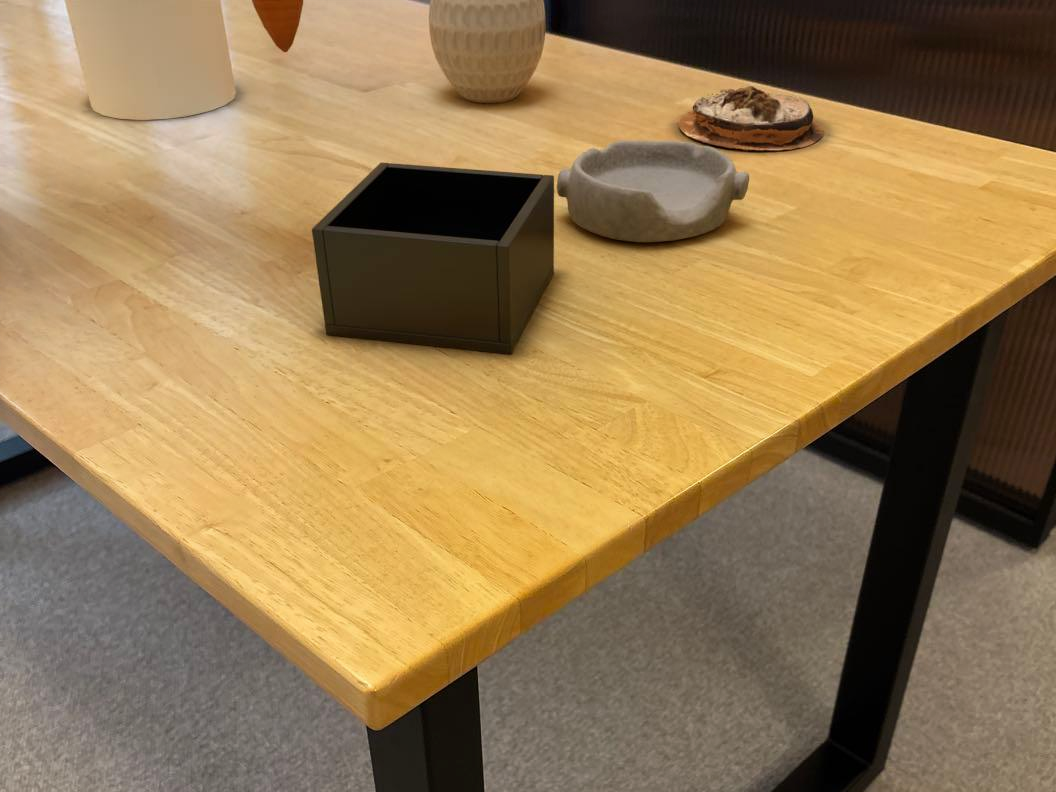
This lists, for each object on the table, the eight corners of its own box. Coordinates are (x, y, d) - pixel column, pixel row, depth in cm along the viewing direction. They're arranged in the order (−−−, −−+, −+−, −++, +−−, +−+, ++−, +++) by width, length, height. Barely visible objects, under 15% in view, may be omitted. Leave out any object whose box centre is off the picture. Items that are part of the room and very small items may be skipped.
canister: (206, 72, 132) (171, -118, 120) (258, 103, 122) (225, -102, 109) (73, 94, 125) (21, -106, 113) (115, 129, 115) (63, -88, 102)
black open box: (325, 334, 77) (311, 228, 72) (389, 259, 87) (380, 162, 83) (511, 354, 74) (508, 246, 70) (554, 274, 85) (554, 175, 80)
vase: (431, 113, 118) (419, -59, 108) (436, 81, 129) (426, -80, 118) (548, 111, 119) (547, -61, 109) (543, 79, 129) (543, -81, 119)
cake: (849, 125, 114) (855, 84, 112) (776, 162, 105) (781, 118, 103) (729, 99, 122) (733, 60, 119) (652, 132, 113) (654, 90, 110)
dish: (761, 218, 94) (768, 160, 91) (656, 265, 86) (659, 203, 83) (636, 177, 102) (638, 123, 99) (530, 216, 94) (529, 159, 91)
